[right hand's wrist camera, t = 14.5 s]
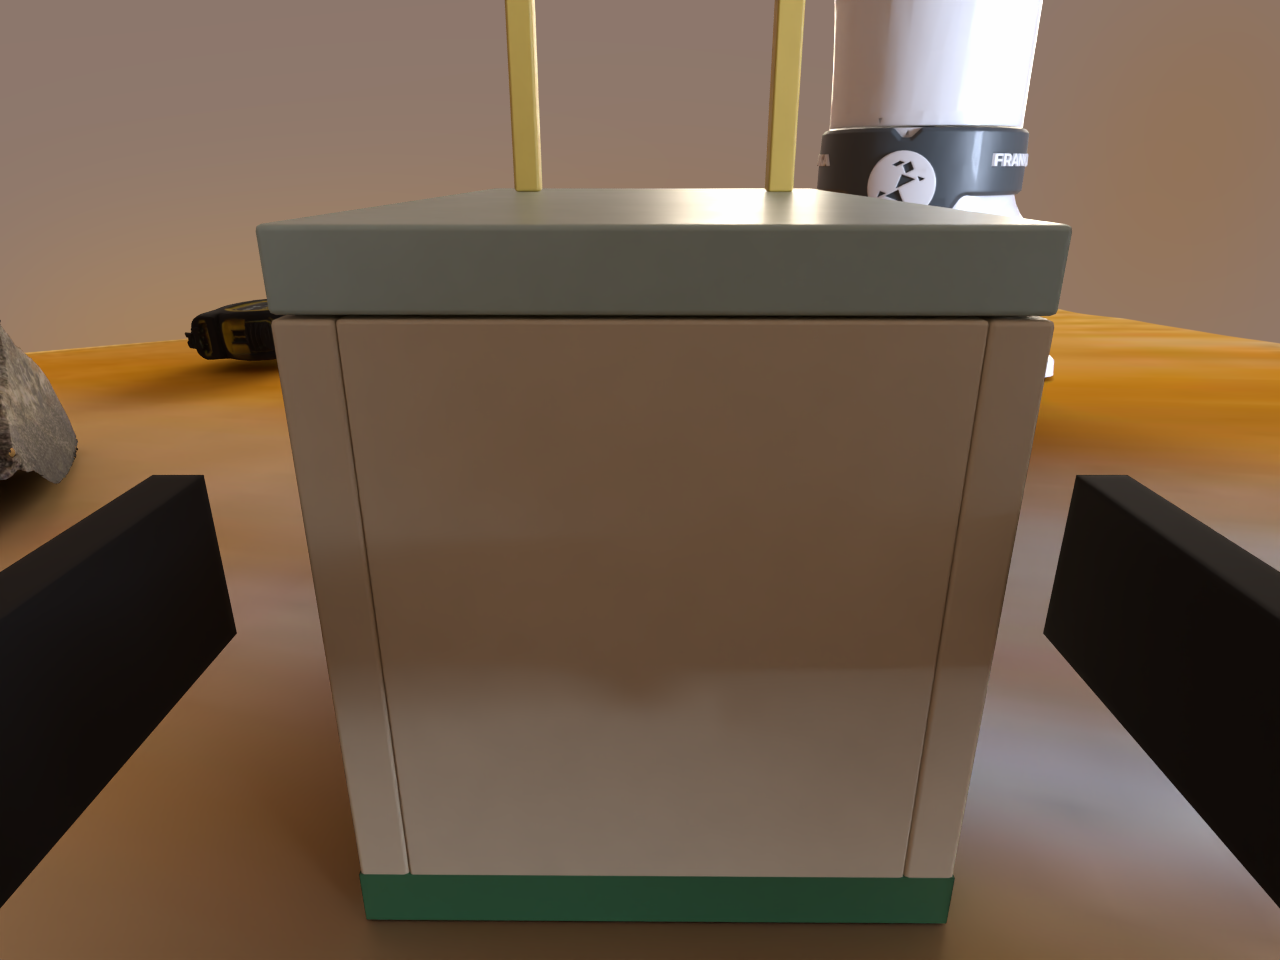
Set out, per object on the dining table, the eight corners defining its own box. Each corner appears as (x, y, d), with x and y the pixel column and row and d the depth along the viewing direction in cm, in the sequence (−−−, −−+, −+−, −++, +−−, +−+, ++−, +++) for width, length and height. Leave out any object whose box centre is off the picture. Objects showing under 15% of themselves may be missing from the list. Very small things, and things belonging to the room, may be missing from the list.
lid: (495, 225, 26) (475, -99, 23) (810, 225, 26) (833, -99, 23) (266, 315, 10) (103, -674, 7) (1058, 317, 10) (1245, -683, 7)
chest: (511, 529, 29) (492, 228, 26) (790, 529, 29) (813, 228, 26) (366, 919, 14) (266, 319, 10) (946, 923, 14) (1059, 321, 10)
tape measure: (251, 348, 57) (241, 294, 56) (344, 349, 57) (336, 295, 55) (192, 371, 51) (179, 311, 50) (296, 373, 50) (286, 312, 49)
